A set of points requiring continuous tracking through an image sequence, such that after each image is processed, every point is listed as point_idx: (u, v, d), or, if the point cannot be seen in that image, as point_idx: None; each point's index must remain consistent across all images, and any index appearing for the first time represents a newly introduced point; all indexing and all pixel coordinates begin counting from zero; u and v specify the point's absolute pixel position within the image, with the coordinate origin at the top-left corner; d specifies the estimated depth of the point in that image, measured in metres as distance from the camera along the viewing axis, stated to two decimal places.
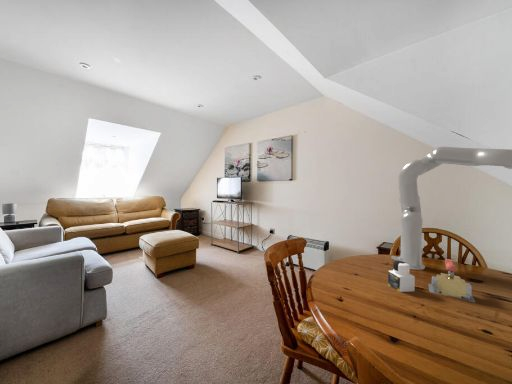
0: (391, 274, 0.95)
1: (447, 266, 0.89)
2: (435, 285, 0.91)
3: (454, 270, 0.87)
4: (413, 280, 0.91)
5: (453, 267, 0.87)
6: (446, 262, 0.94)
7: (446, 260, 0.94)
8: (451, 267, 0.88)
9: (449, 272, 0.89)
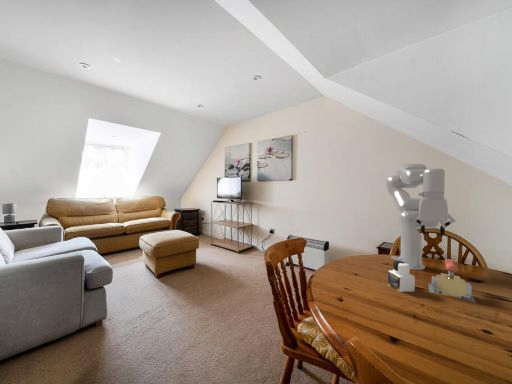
0: (391, 274, 0.95)
1: (447, 266, 0.89)
2: (435, 285, 0.91)
3: (454, 270, 0.87)
4: (413, 280, 0.91)
5: (453, 267, 0.87)
6: (446, 262, 0.94)
7: (446, 260, 0.94)
8: (451, 267, 0.88)
9: (449, 272, 0.89)
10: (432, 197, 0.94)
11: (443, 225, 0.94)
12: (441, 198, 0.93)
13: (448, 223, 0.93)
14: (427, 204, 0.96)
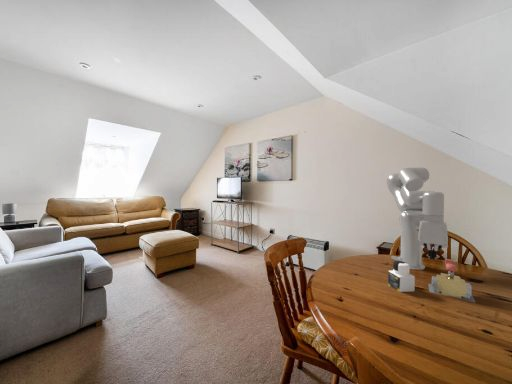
0: (391, 274, 0.95)
1: (447, 266, 0.89)
2: (435, 285, 0.91)
3: (454, 270, 0.87)
4: (413, 280, 0.91)
5: (453, 267, 0.87)
6: (446, 262, 0.94)
7: (446, 260, 0.94)
8: (451, 267, 0.88)
9: (449, 272, 0.89)
10: (432, 220, 0.94)
11: (436, 248, 0.95)
12: (441, 222, 0.93)
13: (440, 246, 0.95)
14: (427, 227, 0.96)
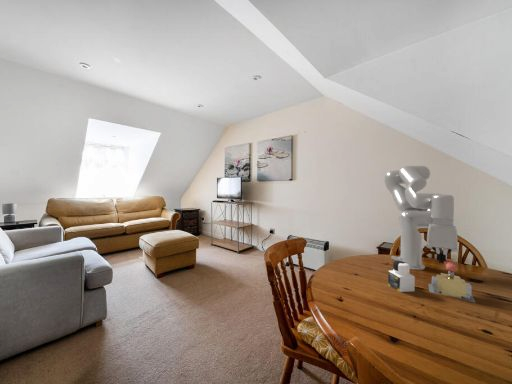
0: (391, 274, 0.95)
1: (447, 266, 0.89)
2: (435, 285, 0.91)
3: (454, 270, 0.87)
4: (413, 280, 0.91)
5: (453, 267, 0.87)
6: (446, 262, 0.94)
7: (446, 260, 0.94)
8: (451, 267, 0.88)
9: (449, 272, 0.89)
10: (441, 224, 0.92)
11: (445, 252, 0.93)
12: (450, 225, 0.91)
13: (449, 250, 0.93)
14: (436, 231, 0.94)
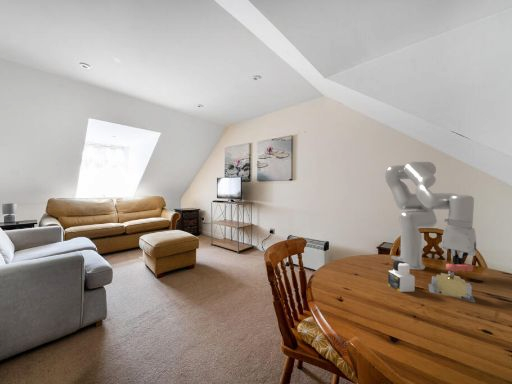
0: (391, 274, 0.95)
1: (446, 265, 0.90)
2: (435, 285, 0.91)
3: (450, 269, 0.88)
4: (413, 280, 0.91)
5: (448, 266, 0.88)
6: None
7: None
8: (447, 266, 0.89)
9: (449, 272, 0.89)
10: (454, 225, 0.89)
11: (460, 255, 0.90)
12: (465, 227, 0.87)
13: (465, 254, 0.88)
14: (450, 232, 0.91)
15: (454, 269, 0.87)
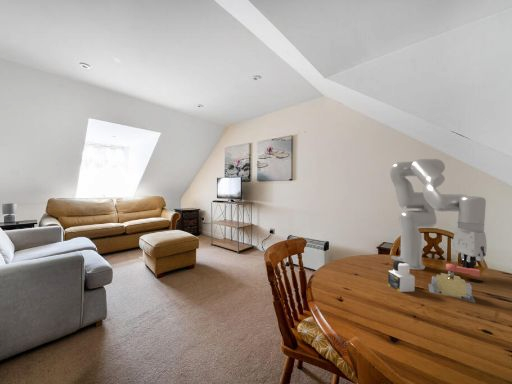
0: (391, 274, 0.95)
1: None
2: (435, 285, 0.91)
3: (446, 268, 0.89)
4: (413, 280, 0.91)
5: (446, 265, 0.89)
6: None
7: (470, 268, 0.85)
8: (446, 265, 0.90)
9: (449, 272, 0.89)
10: (460, 227, 0.87)
11: (468, 259, 0.86)
12: (470, 230, 0.83)
13: (473, 258, 0.84)
14: (458, 234, 0.88)
15: (450, 269, 0.88)
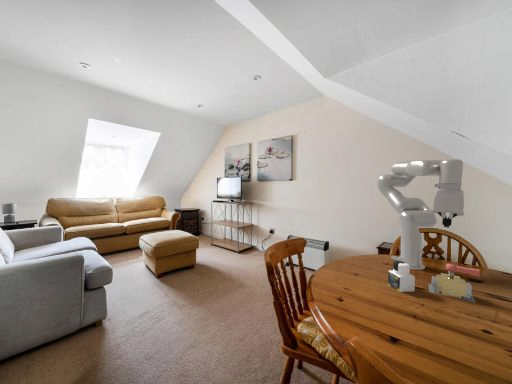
0: (391, 274, 0.95)
1: None
2: (435, 285, 0.91)
3: (446, 268, 0.89)
4: (413, 280, 0.91)
5: (446, 265, 0.89)
6: None
7: None
8: (446, 265, 0.90)
9: (449, 272, 0.89)
10: (447, 188, 0.93)
11: (450, 216, 0.95)
12: (457, 189, 0.92)
13: (455, 214, 0.94)
14: (442, 195, 0.95)
15: (450, 269, 0.88)
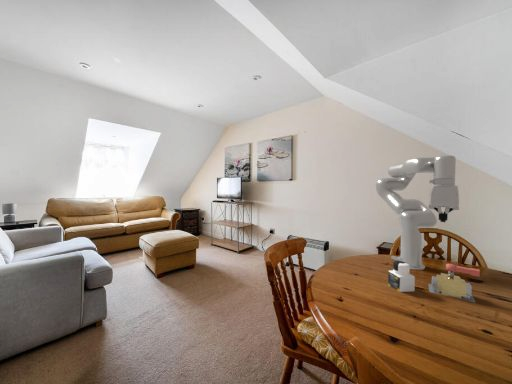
0: (391, 274, 0.95)
1: None
2: (435, 285, 0.91)
3: (446, 268, 0.89)
4: (413, 280, 0.91)
5: (446, 265, 0.89)
6: None
7: None
8: (446, 265, 0.90)
9: (449, 272, 0.89)
10: (443, 183, 0.95)
11: (447, 211, 0.97)
12: (452, 184, 0.94)
13: (451, 209, 0.96)
14: (438, 190, 0.97)
15: (450, 269, 0.88)
